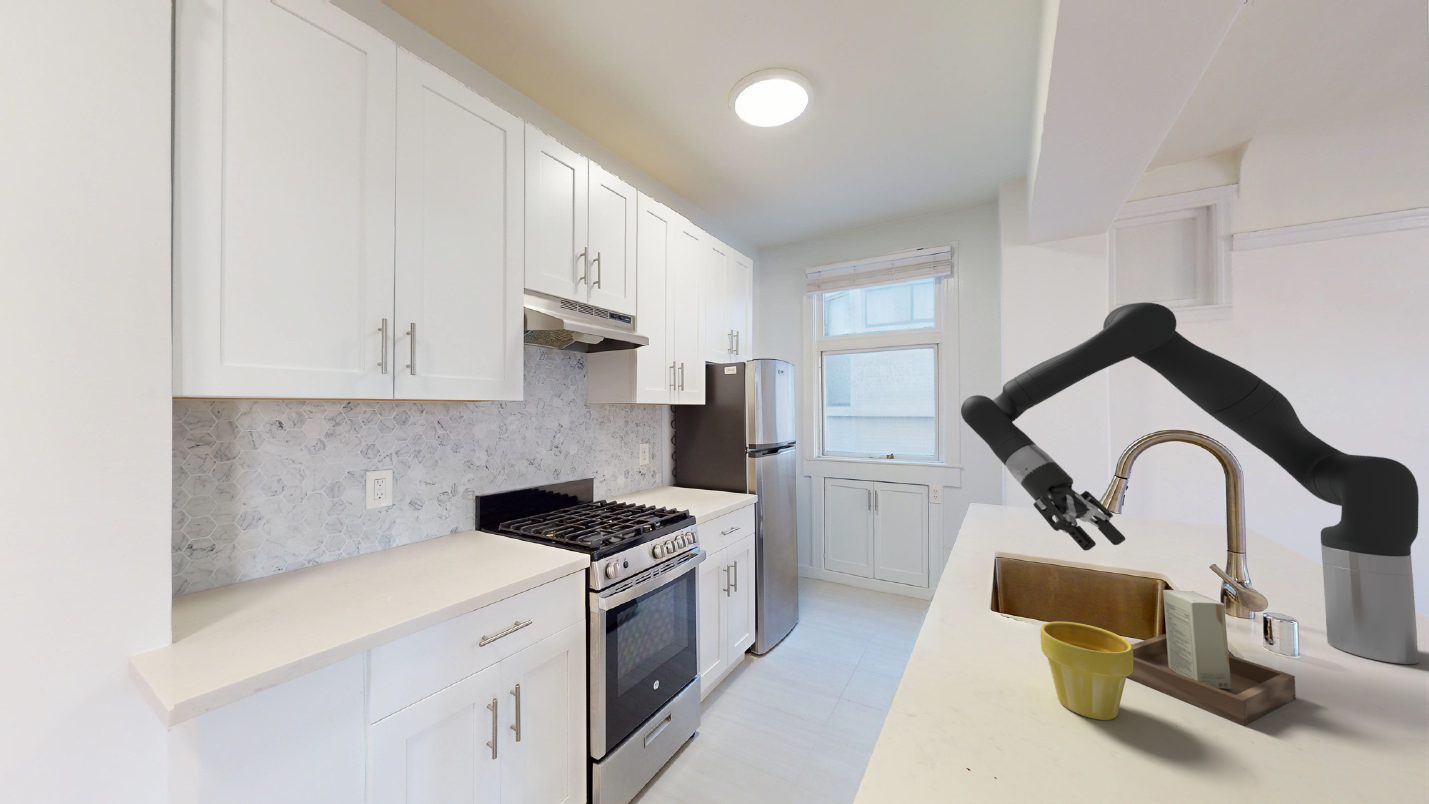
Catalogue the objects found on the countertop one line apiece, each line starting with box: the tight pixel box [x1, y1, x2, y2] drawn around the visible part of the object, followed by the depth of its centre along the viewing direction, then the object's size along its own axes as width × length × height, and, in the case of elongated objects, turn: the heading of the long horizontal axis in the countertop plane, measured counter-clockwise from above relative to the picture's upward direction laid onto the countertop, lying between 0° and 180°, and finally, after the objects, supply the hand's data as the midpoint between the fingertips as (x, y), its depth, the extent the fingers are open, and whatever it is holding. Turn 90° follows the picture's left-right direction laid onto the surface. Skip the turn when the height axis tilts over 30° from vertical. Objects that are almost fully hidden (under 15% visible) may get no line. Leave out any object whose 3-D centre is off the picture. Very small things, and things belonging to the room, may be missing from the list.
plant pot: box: [1039, 621, 1133, 721], centre depth 68 cm, size 10×10×10 cm
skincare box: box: [1162, 589, 1231, 689], centre depth 74 cm, size 6×4×12 cm
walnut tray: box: [1126, 633, 1297, 727], centre depth 73 cm, size 15×15×3 cm
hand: (1106, 545), depth 84 cm, fingers open, 8 cm apart
